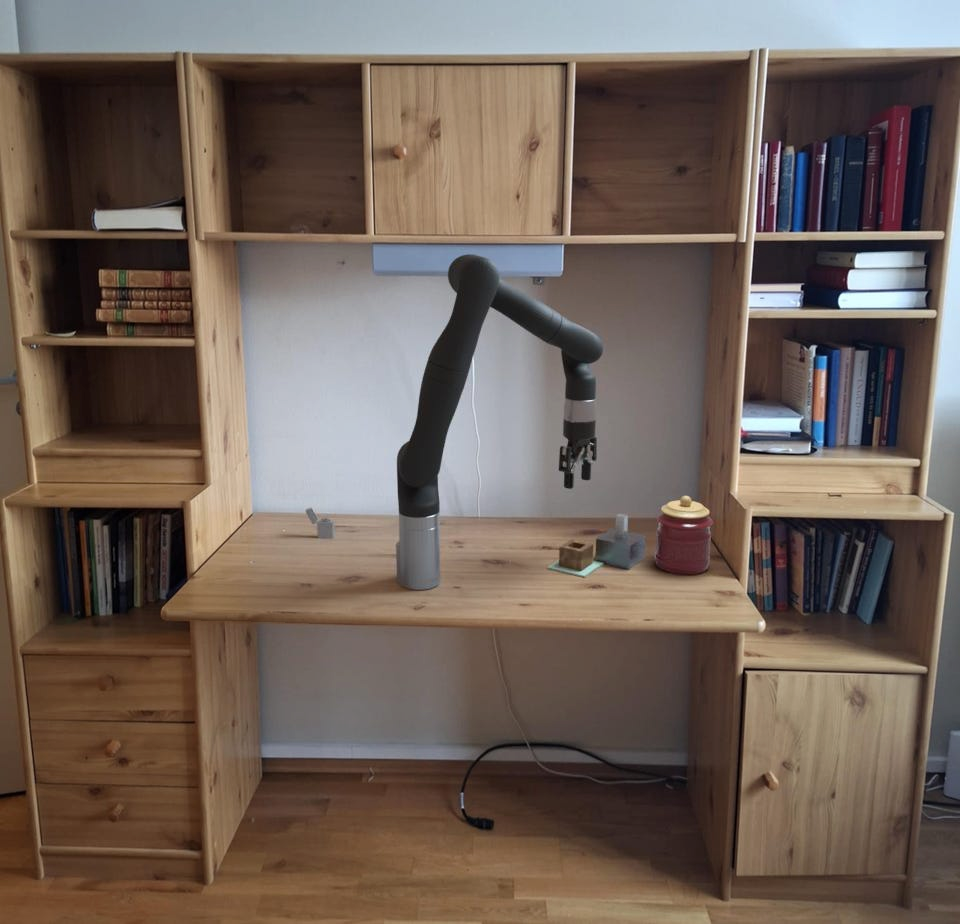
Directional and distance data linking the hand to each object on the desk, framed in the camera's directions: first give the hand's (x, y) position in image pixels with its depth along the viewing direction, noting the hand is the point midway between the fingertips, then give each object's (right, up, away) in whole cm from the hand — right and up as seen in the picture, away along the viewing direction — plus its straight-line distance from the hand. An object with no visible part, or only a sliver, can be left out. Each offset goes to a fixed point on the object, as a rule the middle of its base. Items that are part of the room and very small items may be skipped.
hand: (577, 483), depth 209 cm
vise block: (+11, -19, +7) cm, 23 cm away
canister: (+26, -20, +4) cm, 33 cm away
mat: (0, -20, +3) cm, 20 cm away
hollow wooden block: (0, -20, +3) cm, 20 cm away
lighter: (-65, -15, +23) cm, 71 cm away
